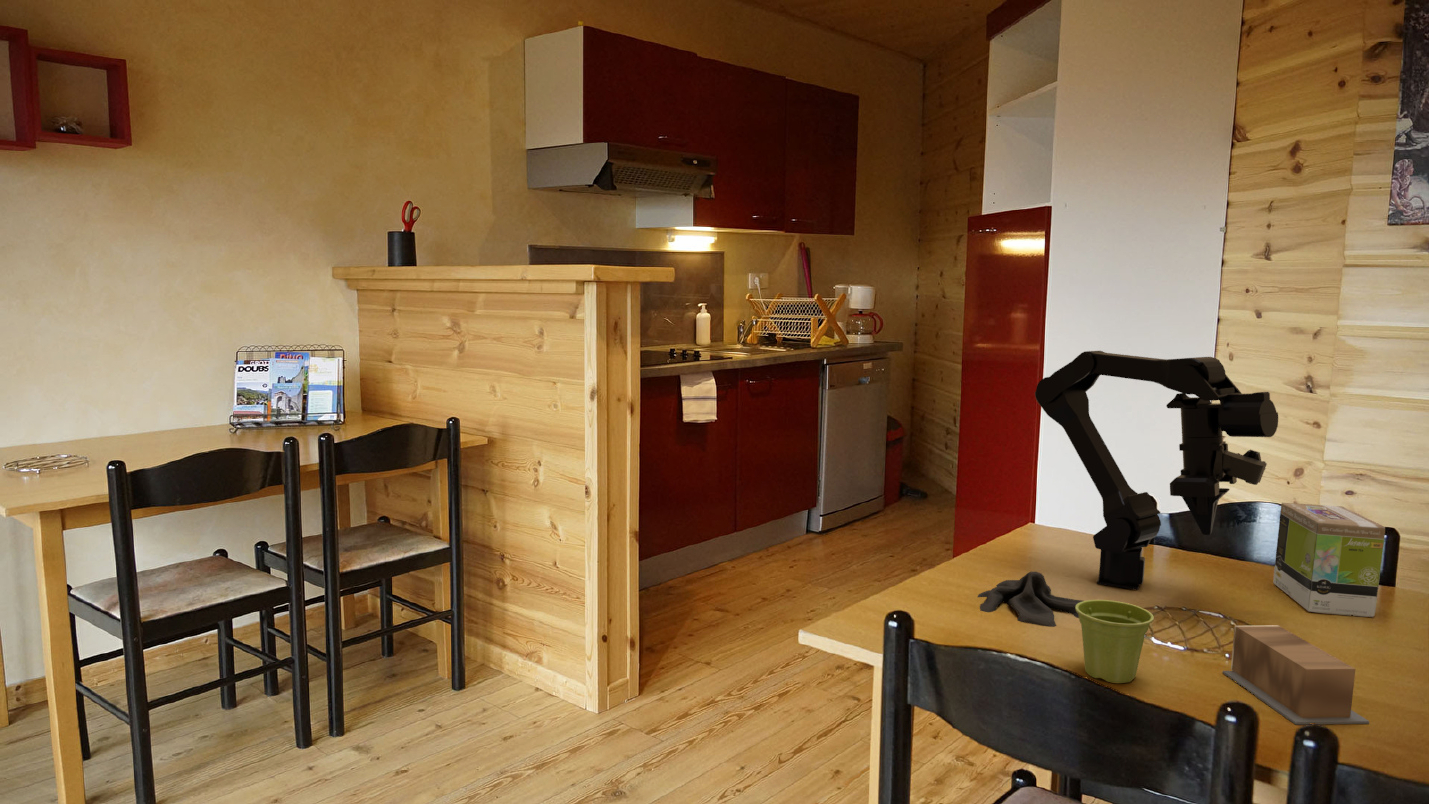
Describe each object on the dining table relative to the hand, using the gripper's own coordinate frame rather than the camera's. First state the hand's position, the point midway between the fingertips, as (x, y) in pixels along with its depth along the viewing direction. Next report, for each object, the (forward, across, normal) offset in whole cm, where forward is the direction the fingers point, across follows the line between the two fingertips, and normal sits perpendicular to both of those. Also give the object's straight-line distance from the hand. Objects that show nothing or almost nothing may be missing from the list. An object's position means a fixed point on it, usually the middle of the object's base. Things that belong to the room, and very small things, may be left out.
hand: (1206, 534), depth 148 cm
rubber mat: (+15, -29, -14) cm, 35 cm away
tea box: (+13, +17, -13) cm, 25 cm away
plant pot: (+13, -37, +5) cm, 39 cm away
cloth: (+10, -17, +24) cm, 31 cm away
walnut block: (+11, -23, -10) cm, 27 cm away
